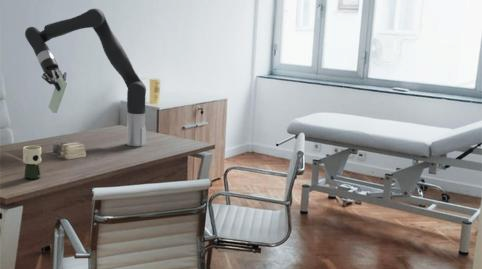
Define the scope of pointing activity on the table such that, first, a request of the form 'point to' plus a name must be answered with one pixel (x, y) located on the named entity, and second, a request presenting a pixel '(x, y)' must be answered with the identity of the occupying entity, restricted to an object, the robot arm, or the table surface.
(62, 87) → the slat
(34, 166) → the character mug
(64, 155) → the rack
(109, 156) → the table surface
